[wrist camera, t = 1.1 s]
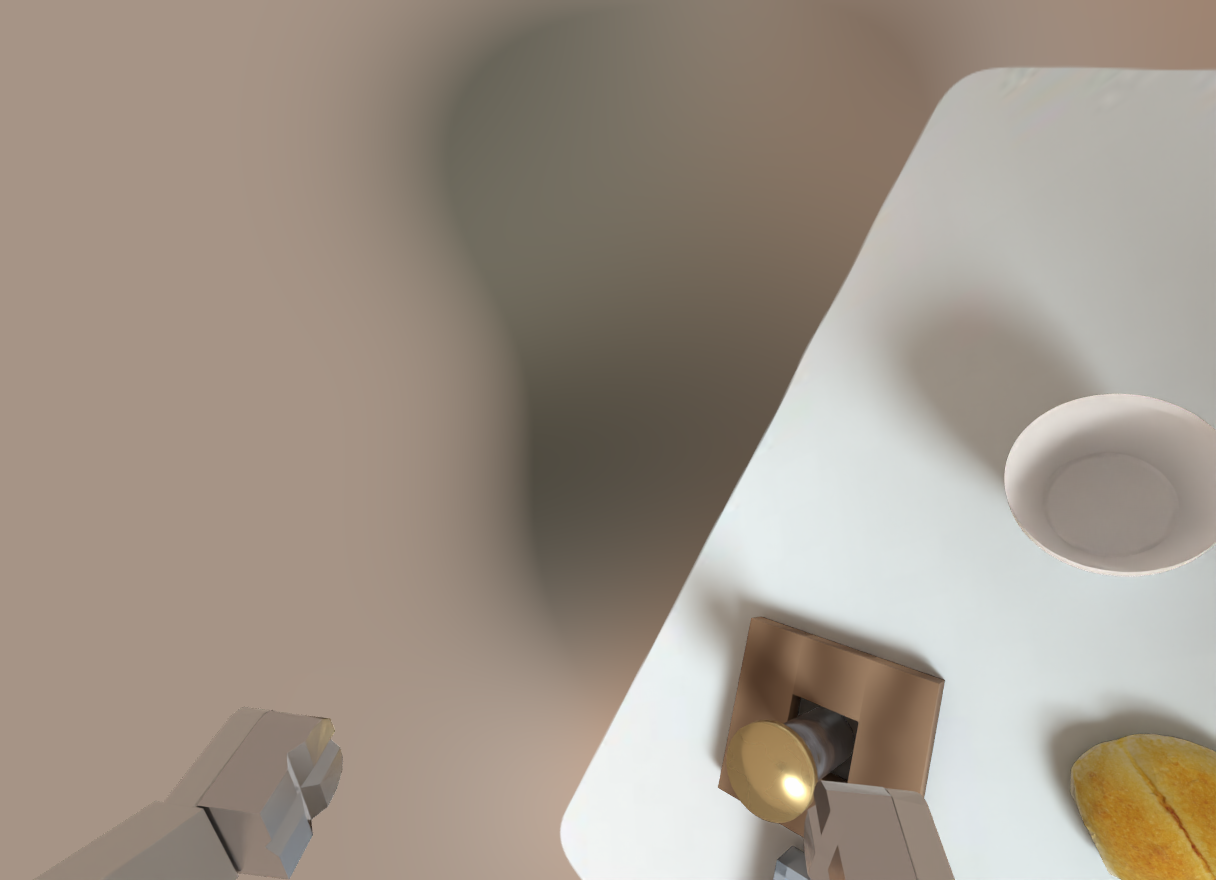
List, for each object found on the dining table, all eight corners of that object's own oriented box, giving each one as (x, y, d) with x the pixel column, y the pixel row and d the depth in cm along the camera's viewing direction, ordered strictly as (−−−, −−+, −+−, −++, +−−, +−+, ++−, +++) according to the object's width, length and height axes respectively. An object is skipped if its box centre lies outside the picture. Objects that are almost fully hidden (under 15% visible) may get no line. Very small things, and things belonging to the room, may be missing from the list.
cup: (1127, 407, 38) (1139, 353, 29) (1252, 530, 33) (1312, 512, 24) (990, 483, 42) (961, 457, 33) (1085, 602, 37) (1083, 609, 28)
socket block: (944, 680, 41) (939, 684, 40) (909, 882, 40) (901, 894, 39) (761, 616, 50) (751, 617, 49) (729, 781, 49) (717, 787, 48)
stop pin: (871, 714, 44) (818, 747, 35) (857, 790, 43) (801, 842, 35) (799, 684, 47) (735, 708, 39) (786, 754, 47) (718, 793, 39)
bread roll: (1336, 889, 29) (1365, 925, 26) (1127, 901, 34) (1131, 933, 31) (1222, 714, 33) (1235, 728, 30) (1045, 746, 37) (1042, 761, 34)
